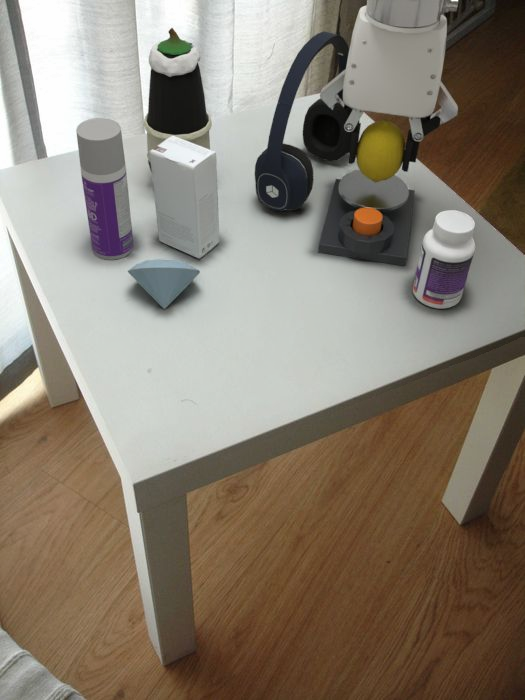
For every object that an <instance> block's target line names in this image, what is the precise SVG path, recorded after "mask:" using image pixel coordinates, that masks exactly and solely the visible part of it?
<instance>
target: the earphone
mask: <svg viewBox="0 0 525 700" xmlns="http://www.w3.org/2000/svg"><path fill="white" fill-rule="evenodd" d="M328 45H332V46H333V48H334V50H335V53H336V56H337V65H338V66H337V67H338V75H339V74H340V73H341V72H342V71H344V70H345V69H346V66H347V60H348V54H349V49H350V47H349V44H348V43H347V41H346V39H345V38H344V37H343V36H342V35H340V34H336V33H333V32H328V31H325V30H322V31H321V32H317V34H315V35H313V36H312V37H311V38H310V39H309V40H308V41H307V42H305V44H304V45H303V46H302V47H301V49H299V51H298V53H297V54H296V56H295V57H294V60H293V61H292V64H291V65H290V68H289V71H288V72H287V74H286V77H285V79H284V82H283V84H282V87H281V89H280V93H279V96H278V100H277V103H276V107H275V110H274V113H273V118H272V122H271V125H270V131H269V135H268V141H267V147H266V148H265V150H263V151H262V152H261V154H260V155H259V156H257V158H256V161H255V165H254V181H255V184H254V185H255V193H256V196H257V199H258V200H259V202H260V203H261V204H262V205H263V206H265V207H266V208H269V209H271V210H274V211H277V212H279V211H281V212H282V211H285V210H286V211H296V210H298V209H300V208H301V207H302V206H303V205H304V203H305V202H306V201H307V199H308V198H309V197H310V194H311V192H312V191H313V188H314V187H313V186H314V167H313V164H312V160H311V158H310V157H309V156H308V154H307V153H306V152H305V151H304V150H302V149H301V148H299V147H297V146H294V145H291V144H288V143H285V142H284V140H285V135H286V131H287V127H288V122H289V118H290V115H291V112H292V108H293V105H294V102H295V99H296V96H297V93H298V90H299V89H300V86H301V83H302V81H303V79H304V76H305V74H306V72H307V71H308V68H309V67H310V65H311V63H312V61H313V60H314V59H315V58H316V56H318V54H319V53H320V52H321V51H322V50H324V48H325V47H327V46H328ZM337 95H338V96H339V98H340V99H342V100H343V89H342V90H341V91H340V92H339V93H337ZM302 124H303V125H302V141H303V145H304V146H305V148H306V150H307V152H308V153H309V154H311V155H312V156H313V157H315V158H318V159H320V160H324V161H328V162H335V161H339V160H341V159H342V158H344V157H345V156H346V155H349V153H345V152H344V146H345V138H346V131H345V129H344V125H343V124H342V123H341V122H340V120H339V119H338V118H337V117H336V116H335V114H334V113H333V110H332V109H331V108H329V107H328V106H327V105H326V103H325V102H324V101H323V100H322V99H321V98H320V97H319V98H318V99H317V100H316V101H314V102H313V103H312V104H311V105H310V106H309V107H308V109H307V111H306V113H305V114H304V120H303V123H302Z"/></svg>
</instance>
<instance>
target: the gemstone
mask: <svg viewBox="0 0 525 700" xmlns="http://www.w3.org/2000/svg"><path fill="white" fill-rule="evenodd" d="M127 273H128V274H129V275H130V276H131V278H132V279H134V280H135V281H136V282H137V283H138V284H139V285H140V286H141V287H142V288H143V289H144V290H145V291H146V292H147V294H149V296H150V297H152V298H153V299H154V300H155V302H156V303H157V304H158V305H159V306H160V307H162V309H163V310H166V308H168V306H170V304H171V303H172V302H173V301H174V300H175V299H176V298H177V297H178V296H179V295H180V294H181V293H182V292H183V291H184V290H185V289H186V288H187V287H188V286H189V285H190V284H191V283H192V282H193V281H194V280H195V279H196V278H197V277H198V276H199V274H200V273H201V271H200V270H199V269H198V268H196V267H195V266H192V265H191V264H189V263H187V262H185V261H182V260H176V259H150V260H144V261H142V262H140V263H136V264H135V265H134V266H132V267H131V268H130V269H127Z"/></svg>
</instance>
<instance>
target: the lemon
mask: <svg viewBox="0 0 525 700" xmlns="http://www.w3.org/2000/svg"><path fill="white" fill-rule="evenodd" d="M405 147H406V142H405V137H404V134H403V132H402V130H401V129H400V127H398V125H397V124H395V123H393V122H392V121H389V120H388V119H382V120H377V121H374V122H372V123H370V124H369V125H367V126H366V127H365V128H364V130H363V131H362V133H361V135H360V136H359V141H358V145H357V150H356V158H355V161H356V164H357V167H358V170H360V171H361V173H362V174H363V175H364V176H365V177H367V178H369V179H371V180H372V181H373V182H376V183H377V182H379V181H384V180H387V179H389V178H391V177H392V176H394V175H395V176H396V174H397V173H398V172H399V170H400V169H401V168H402V164H403V159H404V154H405Z"/></svg>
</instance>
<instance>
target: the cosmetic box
mask: <svg viewBox="0 0 525 700" xmlns="http://www.w3.org/2000/svg"><path fill="white" fill-rule="evenodd" d="M149 153H150V161H151V170H152V173H151V178H152V179H151V180H152V187H153V197H154V205H155V215H156V224H157V232H158V241H159V242H160V243H162V244H165V245H168V246H170V247H172V248H175V249H177V250H179V251H181V252H183V253H185V254H188V255H190V256H192V257H194V258H196V259H201V258H202V257H204V256H205V255H206V254H207V253H209V252H210V251H211V250H213V249H214V248H215V247H216V246H217V245H218V244H219V242H220V224H219V223H220V221H219V196H218V193H219V192H218V170H217V152H216V151H215V150H212V149H210V150H209V149H207V148H204V147H201V146H199V145H196V144H194V143H191V142H188V141H186V140H183V139H180V138H178V137H175V136H171V137H169V138H168V139H166V140H165V141H163V142H162V143H161V144H159V145H158V146H156V147H155V148H154V149H152V150H151V151H150V152H149ZM151 170H150V171H151Z"/></svg>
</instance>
